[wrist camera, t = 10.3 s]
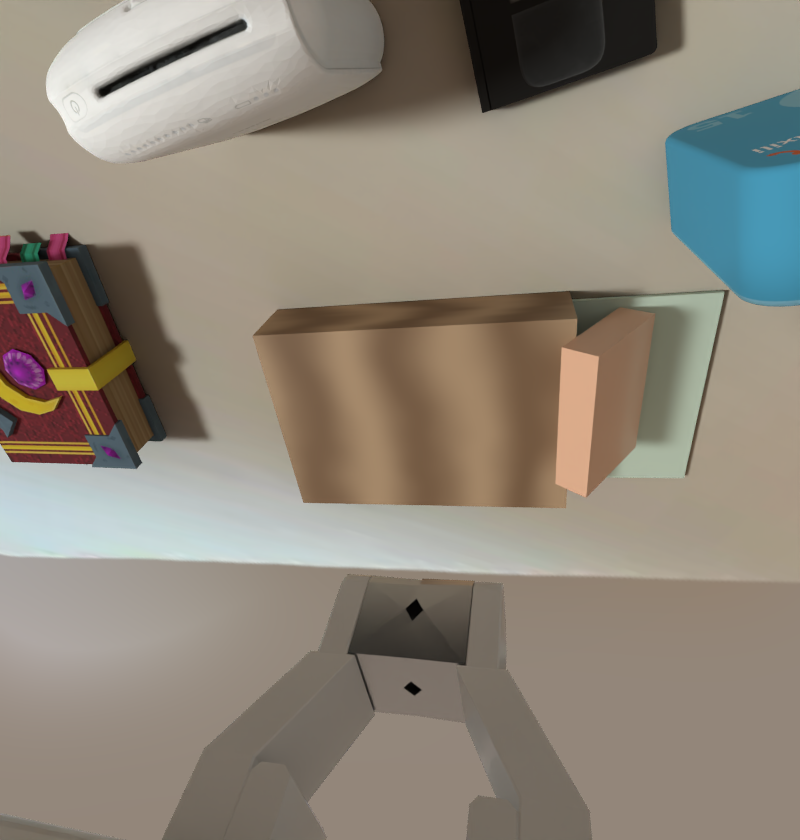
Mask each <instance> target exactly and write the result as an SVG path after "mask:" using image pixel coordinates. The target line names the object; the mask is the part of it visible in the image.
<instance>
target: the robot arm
mask: <svg viewBox="0 0 800 840" xmlns="http://www.w3.org/2000/svg"><path fill="white" fill-rule="evenodd" d="M374 712H382V713H392V714H404V715H415V716H422V717H429V718H436V719H442V720H449V721H455V722H462V723H466V727H467V729H468V732H469V734H470V736H471V739H472V741H473V743H474V746H475V748H476V750H477V753H478V755H479V758H480V760H481V762H482V765H483V767H484V769H485V772H486V774H487V776H488V779H489V781H490V783H491V786H492V788H493V791H494V793H495V795H496V798H493V797H485V796H477V797H476V798H475V800H473V801H472V802H471V803H470V804H469V814H468V825H467V837H466V840H592V834H591V822H590V811H589V809H588V807H587V805H586V804H585V802H584V800H583V798H582V797H581V795H580V793H579V792H578V790H577V788H576V786H575V785H574V783H573V781H572V780H571V778H570V776H569V774H568V773H567V771H566V769H565V767H564V766H563V764H562V762H561V761H560V759H559V757H558V755H557V754H556V752H555V750H554V749H553V747H552V745H551V743H550V742H549V740H548V738H547V736H546V735H545V733H544V731H543V730H542V728H541V726H540V724H539V723H538V721H537V719H536V717H535V716H534V714H533V712H532V710H531V709H530V707H529V705H528V704H527V702H526V700H525V699H524V697H523V695H522V693H521V691H520V690H519V688H518V686H517V685H516V683H515V681H514V679H513V678H512V676H511V674H510V672H509V671H508V670H506V619H505V602H504V587H503V583H490V582H475V581H461V580H438V579H422V580H418V579H406V578H394V577H382V576H371V575H354V574H347V576H346V577H345V578H344V580H343V581H342V584H341V586H340V589H339V592H338V595H337V598H336V601H335V603H334V606H333V609H332V612H331V615H330V618H329V621H328V624H327V627H326V629H325V632H324V635H323V638H322V641H321V644H320V647H319V649H318V651H310V652H308V653H307V654H306V655H305V656H304V657H303V658H302V659H301V660H300V661H299V662H298V663H297V664H296V665H294V666H293V667H292V668H291V669H290V670H289V671H288V672H287V673H286V674H285V675H284V676H282V677H281V678H280V679H279V680H278V681H277V682H276V683H275V684H274V685H273V686H272V687H271V688H270V689H268V690H267V691H266V692H265V693H264V694H263V695H262V696H261V697H260V698H259V699H258V700H256V701H255V702H254V703H253V704H252V705H251V706H250V707H249V708H248V709H247V710H246V711H245V712H243V713H242V714H241V715H240V716H239V717H238V718H237V719H236V720H235V721H234V722H233V723H232V724H230V725H229V726H228V727H227V728H226V729H225V730H224V731H223V732H222V733H221V734H220V735H219V736H217V738H216V739H214V740H213V741H212V742H211V743H210V744H209V745H208V746H207V747H205V748H204V750H203V752H202V754H201V756H200V759H199V761H198V763H197V765H196V767H195V769H194V771H193V773H192V776H191V778H190V780H189V782H188V784H187V786H186V789H185V790H184V793H183V795H182V797H181V799H180V801H179V804H178V806H177V808H176V810H175V812H174V814H173V816H172V818H171V821H170V823H169V825H168V827H167V829H166V831H165V833H164V836H163V838H162V840H326V838H327V837H326V835H325V832H324V830H323V827H322V826H321V824H320V822H319V821H318V819H317V818H316V816H315V814H314V812H313V811H312V809H311V807H310V806H309V804H308V801H309V800H310V798H311V797H312V796H313V794H314V793H315V792H316V790H317V789H318V788H319V786H320V785H321V784H322V783H323V781H324V780H325V779H326V778H327V776H328V775H329V774H330V772H331V771H332V770H333V768H334V767H335V766H336V765H337V763H338V762H339V761H340V759H341V758H342V757H343V755H344V754H345V753H346V752H347V750H348V749H349V748H350V747H351V745H352V744H353V743H354V741H355V740H356V739H357V737H358V736H359V735H360V734H361V732H362V731H363V730H364V728H365V727H366V726H367V724H368V723H369V722H370V720H371V719H372V718H373V717H374V715H375V714H374ZM0 840H124V839H119V838H115V837H110V836H105V835H100V834H96V833H91V832H86V831H82V830H77V829H72V828H68V827H63V826H58V825H53V824H49V823H44V822H39V821H35V820H30V819H25V818H21V817H15V816H11V815H7V814H2V813H0Z"/></svg>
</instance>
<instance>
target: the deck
mask: <svg viewBox="0 0 800 840" xmlns="http://www.w3.org/2000/svg"><path fill="white" fill-rule="evenodd" d="M576 334H577V315H576V312H575V308H574V305H573V302H572V298H571V295H570V291H565V292H549V293H533V294H517V295H502V296H486V297H470V298H454V299H439V300H423V301H407V302H391V303H376V304H360V305H344V306H328V307H312V308H297V309H281V310H277V311H276V312H275V313H274V314H273V315H272V316H271V317H270V318H269V319H268V320H267V321H266V322H265V323H264V324H263V325H262V326H261V327H260V329H259V330H258V331H257V332H256V333H255V334H254V335H253V339H254V342H255V345H256V349H257V352H258V355H259V359H260V362H261V365H262V368H263V372H264V375H265V378H266V381H267V385H268V388H269V391H270V395H271V398H272V401H273V404H274V408H275V411H276V414H277V417H278V421H279V424H280V427H281V430H282V434H283V437H284V440H285V444H286V447H287V450H288V453H289V457H290V460H291V463H292V466H293V470H294V473H295V476H296V480H297V483H298V486H299V489H300V493H301V496H302V499H303V502H304V503H345V504H394V505H443V506H491V507H540V508H566V497H567V489H566V488H564V487H561V486H559V485H557V484H555V481H556V459H557V437H558V416H559V394H560V373H561V351H562V347H563V346H564V345H566V344H567V343H569V342H570V341H571V340H573V339H574V338H576Z"/></svg>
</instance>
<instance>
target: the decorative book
mask: <svg viewBox="0 0 800 840" xmlns="http://www.w3.org/2000/svg"><path fill="white" fill-rule="evenodd" d="M67 240H68V233H64V234H50V242H49V245H48V248H40V245H41V243H30V244H23V247H22V249H21V252H18V253H8V251H9V249H10V235H7V236H0V444H1V446H2V447H3V449H4V450H5V452H6V453H7V455H8V457H9V458H10V460H11V461H12V462H33V463H68V464H93V465H92V467H105V468H130V469H137V468H138V466H139V465H140V464H141V463H142V462H141V460H140V457H139V455H138V453H137V452H138V451H139V450H140V449H141V448H142V447H143V446H144V445H145V444H146V443H147V442H148V441H162V440H163V439H164V438H165V437H166V433H165V431H164V429H163V427H162V424H161V422H160V420H159V417H158V415H157V413H156V411H155V408H154V406H153V404H152V401H151V399H150V397H149V395H147V396H146V395H145V393H144V391H143V388H142V386H141V384H140V381H139V379H138V377H137V374H136V372H135V370H134V367H133V365H132V363H134V362H135V361H136V358H135V356H134V353H133V351H132V349H131V346H130V344H129V342H128V340H124V341H122V339H121V337H120V335H119V332H118V330H117V328H116V325H115V323H114V321H113V318H112V316H111V314H110V311H109V309H108V307H107V303H109V301H108V298H107V296H106V293H105V291H104V288H103V286H102V284H101V281H100V279H99V276H98V274H97V272H96V269H95V267H94V264H93V262H92V260H91V257H90V255H89V252H88V250H87V247H86V245H74V246H66V243H67Z"/></svg>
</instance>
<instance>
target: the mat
mask: <svg viewBox="0 0 800 840" xmlns="http://www.w3.org/2000/svg"><path fill="white" fill-rule="evenodd" d="M724 293H725V292H724V291H723V290H720V291H703V292H686V293H670V294H653V295H637V296H620V297H603V298H587V299H572V302H573V305H574V308H575V312H576V315H577V334H576V337H577V336H579V335H580V334H582V333H583V332H585V331H586V330H587V329H589V328H590V327H592V326H593V325H595V324H596V323H598V322H599V321H600V320H602V319H603V318H605V317H606V316H608V315H609V314H611V313H612V312H613V311H615V310H616V309H618V308H619V307H622V308H627V309H633V310H638V311H644V312H649V313H655V320H654V327H653V333H652V340H651V347H650V354H649V360H648V367H647V374H646V381H645V387H644V394H643V401H642V408H641V414H640V421H639V428H638V434H637V441H636V447H635V448H634V449H633V450H632V451H631V453H630V454H629V455H628V456H627V457H626V458H625V459H624V460H623V461H622V462H621V463H620V464H619V465H618V466H617V467H616V468H615V469H614V470H613V471H612V472H611V473H610V474H609V475H608V476H607V477H615V478H684V476H685V471H686V467H687V462H688V457H689V453H690V448H691V444H692V439H693V435H694V430H695V425H696V421H697V416H698V412H699V407H700V403H701V398H702V394H703V389H704V384H705V380H706V375H707V371H708V366H709V362H710V357H711V352H712V348H713V343H714V339H715V334H716V330H717V325H718V320H719V316H720V311H721V307H722V302H723V298H724Z"/></svg>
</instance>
